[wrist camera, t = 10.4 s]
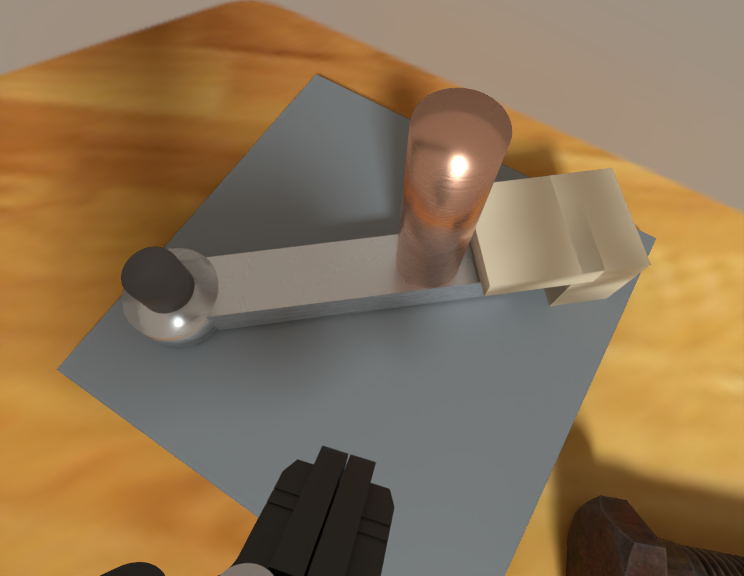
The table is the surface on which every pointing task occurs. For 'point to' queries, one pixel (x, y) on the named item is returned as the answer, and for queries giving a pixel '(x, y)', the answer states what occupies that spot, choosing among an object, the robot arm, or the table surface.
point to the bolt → (634, 547)
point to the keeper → (558, 237)
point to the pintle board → (355, 354)
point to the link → (361, 240)
